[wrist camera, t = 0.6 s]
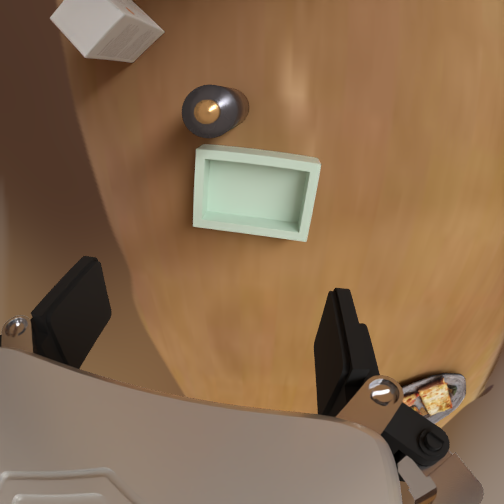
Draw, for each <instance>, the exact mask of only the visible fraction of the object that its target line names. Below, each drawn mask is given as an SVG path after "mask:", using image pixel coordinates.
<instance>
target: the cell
mask: <svg viewBox="0 0 504 504" xmlns="http://www.w3.org/2000/svg"><path fill="white" fill-rule="evenodd" d="M248 112H249V102H248V100H247V98H246V96H245V95H244V94H243V93H242V92H240V91H239V90H236V89H232V88H227V87H222V86H216V85H204V86H200V87H198V88H196V89H194V90H193V91H192V92H190V93H189V94H188V96H187V97H186V99H185V101H184V103H183V106H182V118H183V121H184V123H185V125H186V127H187V128H188V129H189V130H190V131H191V132H192V133H193V134H195V135H197V136H199V137H203V138H214V137H218V136H221V135H222V134H224V133H226V132H227V131H229V130H230V129H232V128H234V127H235V126H237V125H238V124H240V123H242V122H243V121H244V120H245V118H246V117H247V115H248Z"/></svg>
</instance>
